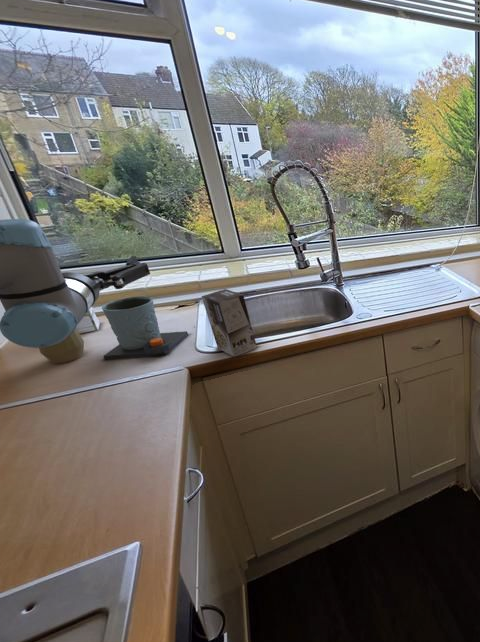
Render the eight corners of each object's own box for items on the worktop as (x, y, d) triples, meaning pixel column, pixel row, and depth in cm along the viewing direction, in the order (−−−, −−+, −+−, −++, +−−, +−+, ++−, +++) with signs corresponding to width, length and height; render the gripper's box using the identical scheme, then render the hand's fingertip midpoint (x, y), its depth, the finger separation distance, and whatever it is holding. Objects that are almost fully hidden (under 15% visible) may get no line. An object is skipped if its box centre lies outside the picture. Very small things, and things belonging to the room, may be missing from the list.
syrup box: (100, 324, 126) (81, 280, 120) (98, 331, 121) (79, 285, 116) (74, 329, 122) (53, 284, 117) (71, 336, 118) (50, 290, 112)
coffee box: (258, 347, 114) (244, 294, 108) (234, 357, 109) (218, 302, 103) (240, 339, 118) (226, 288, 112) (216, 348, 113) (200, 295, 107)
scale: (101, 363, 105) (97, 353, 104) (133, 339, 117) (129, 330, 116) (166, 357, 108) (163, 347, 107) (191, 335, 120) (188, 326, 119)
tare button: (149, 347, 108) (147, 342, 107) (154, 343, 110) (152, 338, 110) (160, 346, 108) (158, 341, 108) (165, 342, 111) (163, 337, 110)
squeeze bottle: (43, 369, 102) (9, 304, 95) (48, 356, 108) (17, 294, 101) (87, 359, 107) (58, 296, 100) (90, 347, 112) (63, 287, 105)
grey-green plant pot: (118, 341, 113) (102, 301, 109) (164, 330, 119) (151, 293, 115) (118, 355, 106) (101, 313, 102) (167, 343, 113) (153, 304, 108)
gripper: (-27, 330, 70) (23, 291, 86) (159, 302, 82) (171, 273, 98) (-50, 290, 67) (6, 257, 83) (146, 267, 79) (161, 243, 95)
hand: (96, 265), depth 91 cm, fingers open, 13 cm apart
